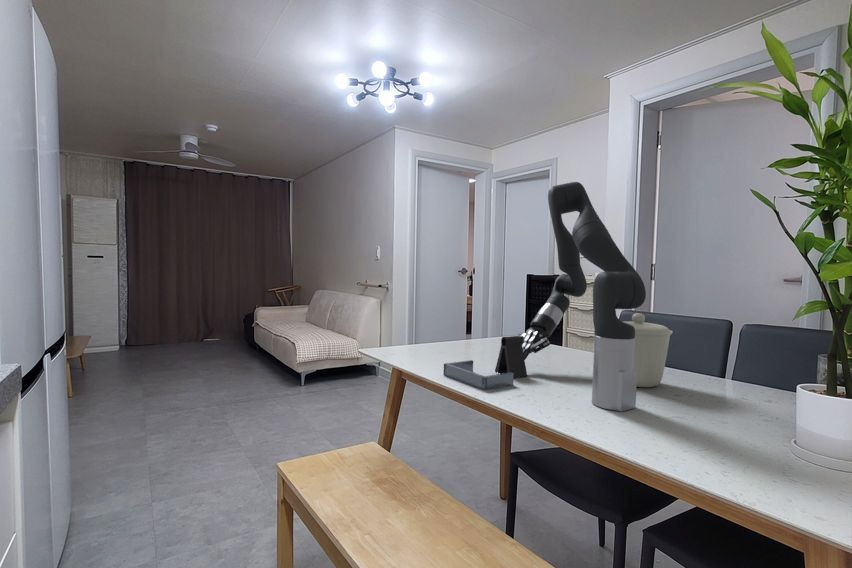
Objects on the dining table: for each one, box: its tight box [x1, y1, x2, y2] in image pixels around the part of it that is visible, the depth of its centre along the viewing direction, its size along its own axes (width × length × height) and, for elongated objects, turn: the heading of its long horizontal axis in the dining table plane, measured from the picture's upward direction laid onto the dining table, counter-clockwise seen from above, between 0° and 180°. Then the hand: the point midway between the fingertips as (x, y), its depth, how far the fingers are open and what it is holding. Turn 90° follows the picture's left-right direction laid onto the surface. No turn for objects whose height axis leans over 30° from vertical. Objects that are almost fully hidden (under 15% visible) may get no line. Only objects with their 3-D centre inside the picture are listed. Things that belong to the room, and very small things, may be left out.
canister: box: [622, 312, 673, 388], centre depth 129 cm, size 18×18×21 cm
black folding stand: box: [494, 335, 528, 379], centre depth 136 cm, size 9×6×12 cm, turn 23°
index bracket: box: [443, 359, 514, 391], centre depth 129 cm, size 19×11×4 cm, turn 34°
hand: (519, 359), depth 138 cm, fingers closed
